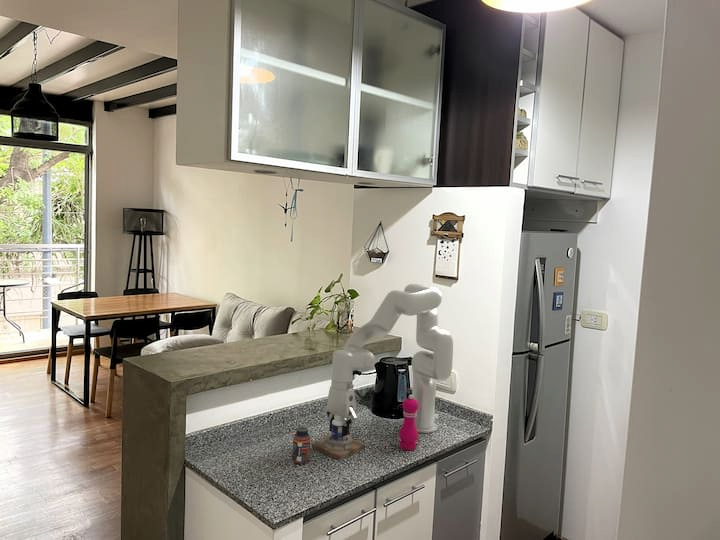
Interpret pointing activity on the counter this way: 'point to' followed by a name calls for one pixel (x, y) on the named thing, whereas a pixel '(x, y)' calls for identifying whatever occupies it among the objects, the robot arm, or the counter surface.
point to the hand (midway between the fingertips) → (339, 432)
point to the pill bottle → (337, 429)
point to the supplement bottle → (301, 446)
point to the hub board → (338, 452)
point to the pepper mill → (409, 424)
